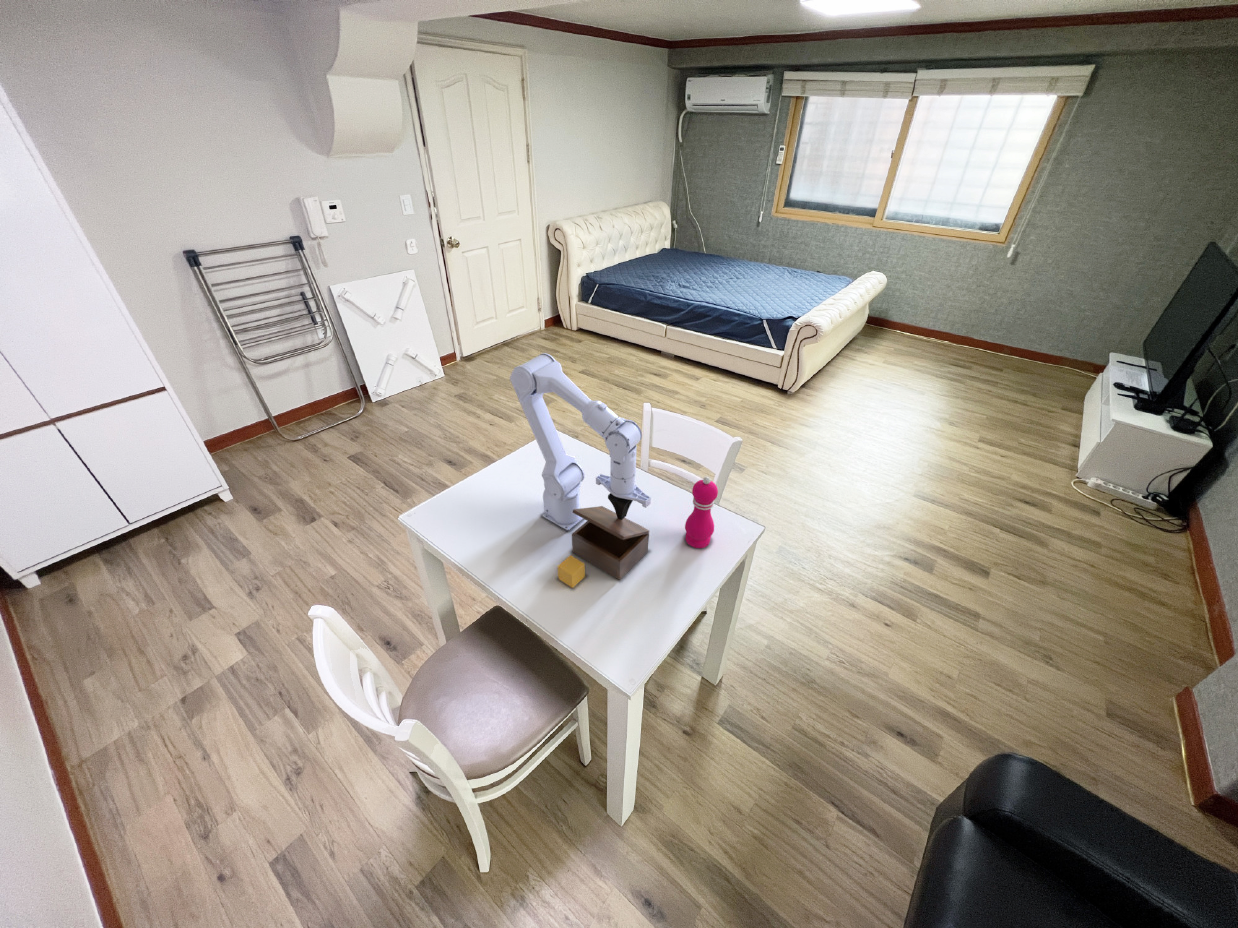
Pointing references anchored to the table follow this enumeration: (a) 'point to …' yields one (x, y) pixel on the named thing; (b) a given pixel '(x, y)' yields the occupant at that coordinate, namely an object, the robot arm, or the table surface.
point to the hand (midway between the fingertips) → (621, 516)
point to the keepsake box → (608, 549)
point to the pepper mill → (701, 514)
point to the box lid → (611, 522)
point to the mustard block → (571, 571)
